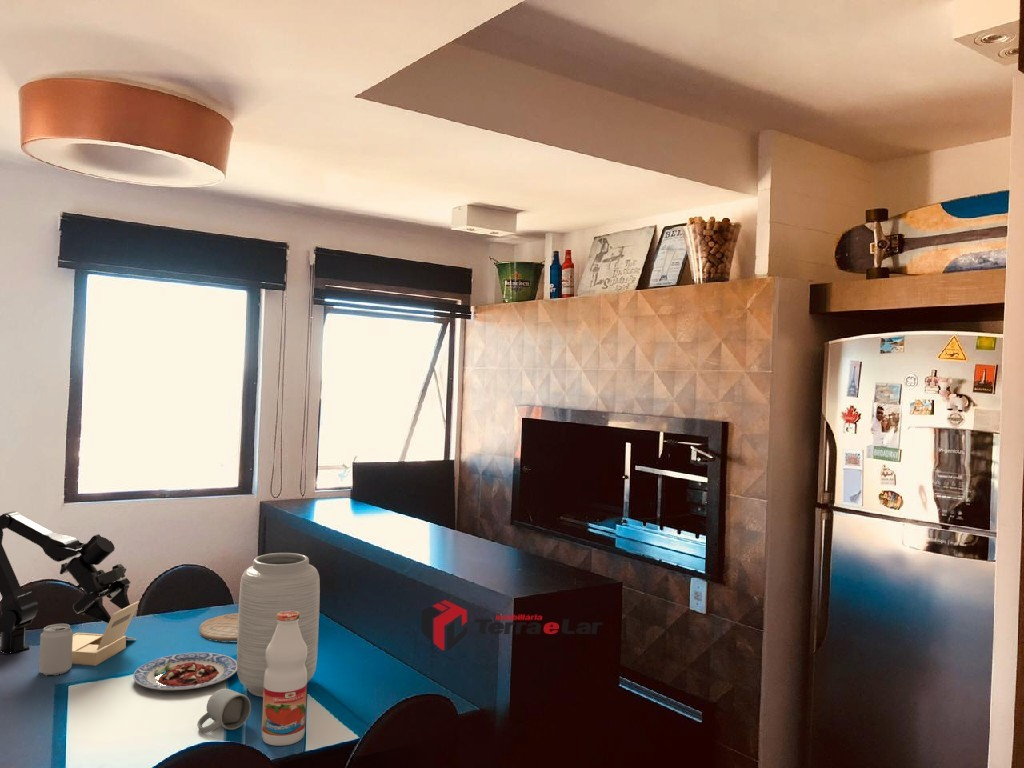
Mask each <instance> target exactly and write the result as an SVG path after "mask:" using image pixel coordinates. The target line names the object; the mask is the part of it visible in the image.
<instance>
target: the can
mask: <svg viewBox="0 0 1024 768" xmlns="http://www.w3.org/2000/svg"><path fill="white" fill-rule="evenodd" d="M42 630H43V631H42V632H41V633H40V637H39V639H40V640H39V662H38V663H39V665H38V671H39V673H41V674H42V673H43V674H45V675H44V676H47V675H54V676H59V674H60V675H62V674H65V673H67V672H68V671H69V670H70V669H71V668H72V667H73V666H72V665H73V664H72V643H73V634H74V631H73V629H72V628H71V625H70V624H67V623H53V624H50V625H47V626H45V627H43V629H42ZM43 674H42V675H43Z"/></svg>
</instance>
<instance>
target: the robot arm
mask: <svg viewBox="0 0 1024 768" xmlns="http://www.w3.org/2000/svg"><path fill="white" fill-rule="evenodd" d="M5 529H8V530H9V531H12V532H13V533H15V534H17V535H19V536H20V537H22V538H24V539H25V540H28V541H30V542H32V543H34V544H35V545H37V546H39V547H40V548H41V549H42V550H43V552H44V554H45V555H46V556H47V557H48V558H50V559H51V560H53V562H58V563H59V562H63V561H66V560H69V559H70V560H69V561H68V562H65V563H62V564H60V566H61V567H60V569H59V570H60V571H59V575H64V574H66V573H69V574H70V575H71V577H72V579H74V580H75V582H76V583H77V586H76V589H78V590H81V589H82V590H83V591H84V592H85V593H84V594H82V596H81V597H79V598H78V599H77V600H76V601H75V602H74V603H73V605H72V610H73V611H74V612H75V613H76V614H77V615H78V614H81V615H85V616H89V617H91V618H94V619H95V620H99V621H101V622H104V623H107V624H108V623H109V621H110V619H111V617H112V615H110V613H109V612H108V610H107V609H106V608H105V606H104V603H103V601H104V600H103V599H104V598H105V597H106V598H108V599H109V602H110V603H112V604H113V605H115V606H117V608H119V609H120V610H121V609H123V608H126V607H128V606H130V605H131V603H130V600H129V597H128V591H129V588H130V584H131V581H130V580H129V578H128V577H126V575H125V573H127V572H126V571H127V568H126V567H125V566H124V565H123V564H122V563H118V564H115V565H113V566H112V567H111V570H108V571H104V570H103V569H99V570H98V569H97V568H96V566H98V565H100V564H102V562H104V560H105V559H107V558H108V557H109V556H110V555H111V554H112V553H114V551H115V548H116V547H115V545H114V543H113V542H112V541H111V540H110V539H108V538H106V537H103V536H101V535H100V534H99V533H97V534H95V535H93V536H92V537H90V540H89V541H87V542H82V541H80V540H79V539H77V538H76V537H74V536H70V535H67V534H61V533H55V532H53V531H52V530H49V529H48V528H46V527H43V526H41V525H40V524H38V523H36V522H34V521H33V520H31V519H29V518H27V517H25V516H24V515H22V514H21V513H20V512H17V511H11V512H10V511H9V512H6V513H3V514H1V515H0V596H1V598H2V599H1V605H0V611H1V615H2V616H1V617H0V633H1V636H0V651H2V652H4V653H9V654H11V653H10V652H13V653H16V652H15V651H17V652H20V651H19V650H22V651H25V650H24V649H26V650H30V647H31V646H29V645H27V644H26V643H25V642H26V626H28V625H31V624H32V622H33V620H34V618H35V617H36V616H37V613H38V611H39V607H38V605H39V602H38V601H37V600H36V597H35V594H34V593H33V591H29V592H26V591H25V590H23V589H22V587H21V584H20V583H19V580H18V578H17V576H16V573H15V571H14V568H13V566H12V564H11V562H10V560H9V558H8V555H7V552H6V550H5V548H4V546H3V539H4V531H3V530H5ZM78 555H79V556H78ZM94 565H95V566H94Z"/></svg>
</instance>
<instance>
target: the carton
mask: <svg viewBox="0 0 1024 768" xmlns="http://www.w3.org/2000/svg"><path fill="white" fill-rule="evenodd" d="M103 635H104V633H102V634H101V633H91V632H89V633H88V632H76V633H73V643H72V665H79V664H82V665H81V666H93V667H95V666H98V665H100V664H101V663H103V662H104V661H106V660H108V659H110V658H111V657H113V656H115V655H116V654H118V653H119V652H122V651H124V650H125V649H126V644H127V640H137V638H135V637H130V636H127V635H124V636H122V637H121V638H119V639H117V640H115V641H113V642H112V643H110V644H108V645H106V646H104V647H103V648H101V649H99V650H97V648H98V646H99V644H100V641H101V639H102V637H103Z"/></svg>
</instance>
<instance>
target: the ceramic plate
mask: <svg viewBox="0 0 1024 768" xmlns="http://www.w3.org/2000/svg"><path fill="white" fill-rule="evenodd" d="M164 671H166V673H165V674H163V673H164ZM158 672H159V673H158ZM235 673H237V660H236V659H234V658H232V657H231V656H228V655H225V654H220V653H214V652H185V653H177V654H172V655H166V656H162V657H158V658H155V659H153V660H151V661H148V662H146V663H144V664H142V665H141V666H139V667H138V668H137V669H136V670H135V671H134V672H133V675H132V678H133V681H134V682H136V684H138V685H140V686H142V687H144V688H147V689H148V688H149V689H152V690H159V691H182V690H183V691H184V690H185V691H186V690H193V689H200V688H204V687H208V686H212V685H215V684H218V683H221V682H223V681H225V680H227V679H228V678H230V677H232V676H233V675H234V674H235ZM160 674H163V675H162V676H161V677H160V678H159V680H157V679H155V677H156V676H158V675H160ZM156 681H158V682H159V683H161V684H163V685H166V686H162V685H161V686H160V684H159V685H158V683H156Z"/></svg>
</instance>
